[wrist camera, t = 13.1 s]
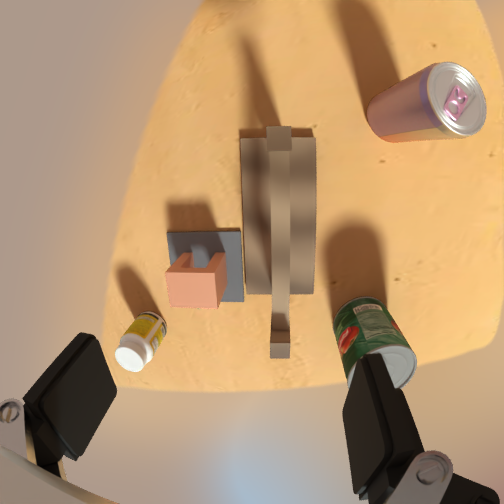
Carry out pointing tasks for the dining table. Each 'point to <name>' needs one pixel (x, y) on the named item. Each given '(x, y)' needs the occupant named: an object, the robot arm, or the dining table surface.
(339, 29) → the dining table surface
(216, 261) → the c link
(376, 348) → the canned tomato
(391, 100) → the beverage can
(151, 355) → the supplement bottle
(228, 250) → the mat
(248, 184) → the stand
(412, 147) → the dining table surface
